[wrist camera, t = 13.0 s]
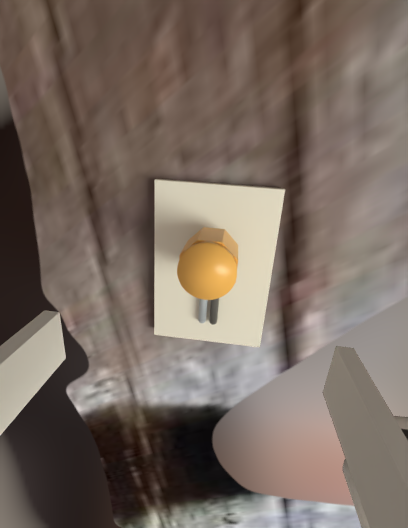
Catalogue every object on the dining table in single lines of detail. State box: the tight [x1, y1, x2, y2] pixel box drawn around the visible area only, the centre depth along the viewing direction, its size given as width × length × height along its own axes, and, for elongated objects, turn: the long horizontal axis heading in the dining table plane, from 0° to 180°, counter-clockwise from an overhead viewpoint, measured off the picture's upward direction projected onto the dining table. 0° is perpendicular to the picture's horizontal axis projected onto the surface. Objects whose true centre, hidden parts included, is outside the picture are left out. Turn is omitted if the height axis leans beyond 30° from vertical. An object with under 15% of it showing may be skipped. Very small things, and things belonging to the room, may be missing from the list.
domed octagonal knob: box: [177, 227, 238, 300], centre depth 28 cm, size 5×5×6 cm
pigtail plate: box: [154, 179, 285, 347], centre depth 32 cm, size 20×14×8 cm
